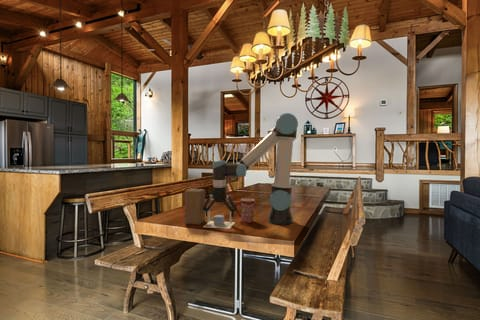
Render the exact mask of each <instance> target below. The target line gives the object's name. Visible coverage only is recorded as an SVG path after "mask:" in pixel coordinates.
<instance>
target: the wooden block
mask: <svg viewBox="0 0 480 320" xmlns="http://www.w3.org/2000/svg"><path fill="white" fill-rule="evenodd" d="M205 203H206V190H205V189H204V188H201V189H200V188H199V189H198V188H189V189H186V190H185V191H184V224H186V225H197V226H198V225H201V224H203V223H204V222H205V220H206V211H205V210H203V207H204V205H205Z"/></svg>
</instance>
